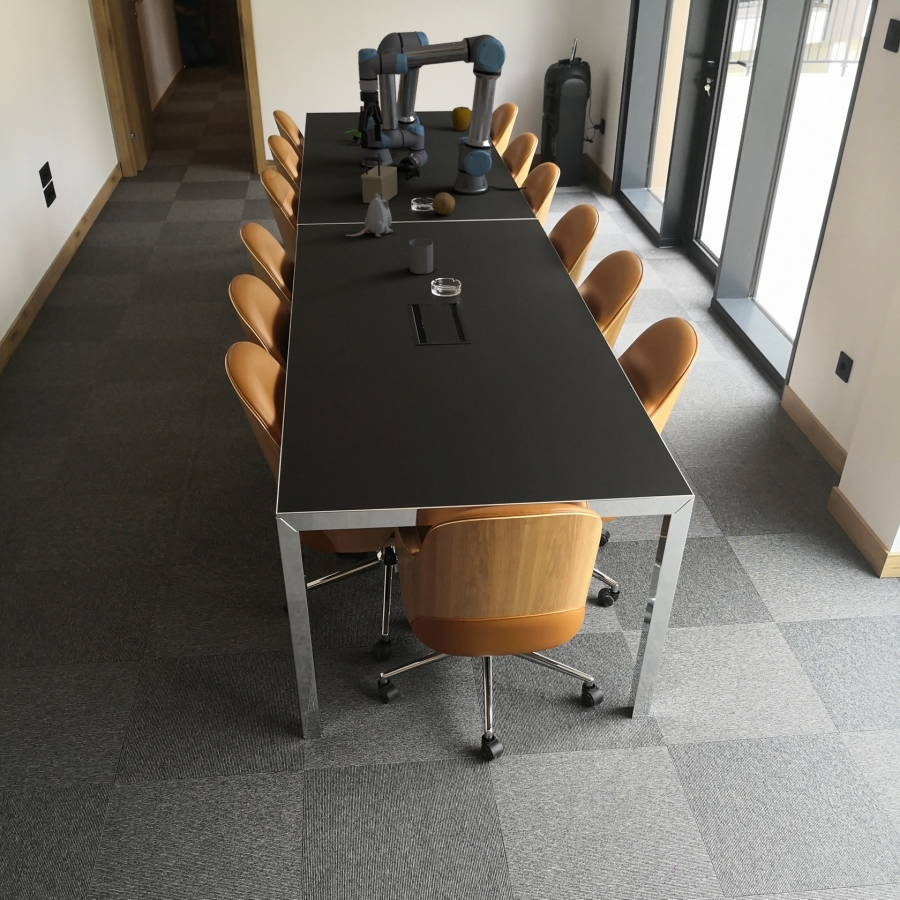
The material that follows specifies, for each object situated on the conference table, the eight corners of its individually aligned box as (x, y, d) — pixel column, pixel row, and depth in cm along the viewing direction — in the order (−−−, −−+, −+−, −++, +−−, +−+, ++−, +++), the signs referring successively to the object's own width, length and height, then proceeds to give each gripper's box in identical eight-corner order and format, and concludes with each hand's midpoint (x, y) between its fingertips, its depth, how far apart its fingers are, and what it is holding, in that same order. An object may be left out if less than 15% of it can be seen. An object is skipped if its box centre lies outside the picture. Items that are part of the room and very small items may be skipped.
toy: (398, 232, 342) (397, 194, 334) (353, 246, 328) (351, 207, 320) (383, 227, 348) (381, 189, 340) (338, 241, 333) (335, 202, 325)
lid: (380, 180, 367) (379, 158, 362) (360, 178, 370) (359, 157, 365) (396, 169, 381) (396, 149, 376) (377, 167, 384) (376, 147, 379)
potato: (453, 208, 369) (453, 189, 365) (456, 218, 357) (456, 199, 353) (431, 208, 368) (430, 189, 364) (432, 218, 356) (432, 199, 352)
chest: (382, 204, 374) (381, 179, 368) (363, 202, 376) (361, 177, 370) (397, 193, 387) (396, 169, 381) (378, 191, 389) (377, 168, 384)
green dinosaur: (399, 126, 467) (343, 124, 465) (399, 141, 460) (342, 139, 458) (399, 136, 472) (343, 133, 470) (399, 151, 465) (342, 149, 463)
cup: (409, 265, 311) (408, 238, 306) (432, 265, 312) (431, 238, 307) (410, 274, 304) (409, 246, 299) (433, 273, 305) (433, 246, 299)
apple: (471, 132, 486) (471, 108, 479) (451, 132, 486) (451, 108, 479) (470, 128, 495) (471, 104, 488) (452, 128, 495) (452, 104, 488)
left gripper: (384, 154, 406) (366, 165, 389) (434, 158, 400) (418, 170, 383) (385, 170, 410) (367, 182, 393) (434, 175, 404) (418, 187, 387)
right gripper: (373, 84, 362) (375, 137, 374) (347, 95, 343) (350, 150, 354) (389, 85, 360) (391, 138, 372) (364, 96, 341) (367, 152, 352)
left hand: (392, 176), depth 388 cm, fingers open, 13 cm apart
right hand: (371, 144), depth 363 cm, fingers open, 13 cm apart
